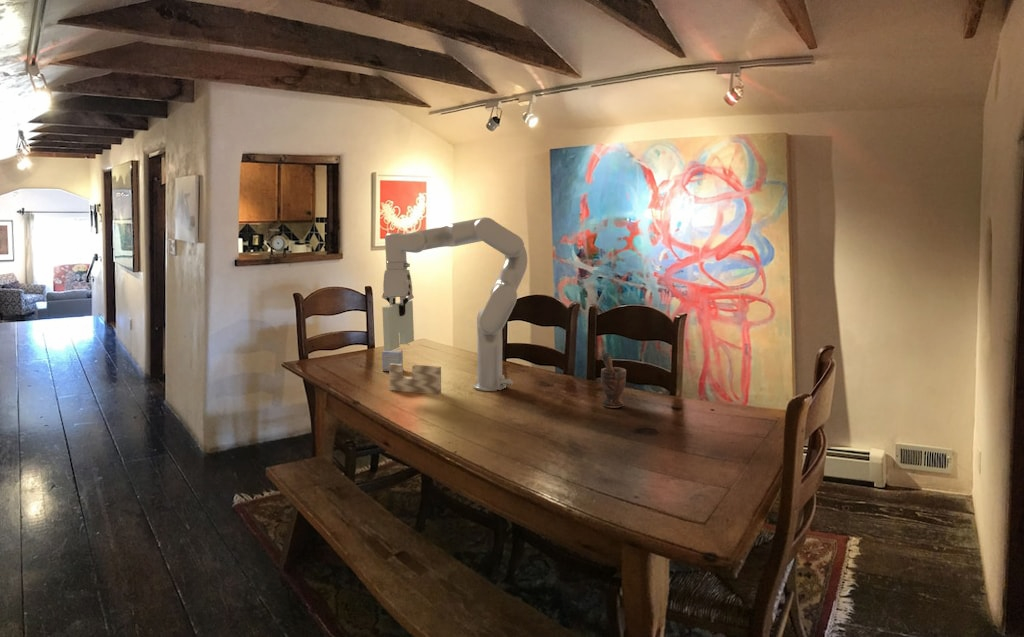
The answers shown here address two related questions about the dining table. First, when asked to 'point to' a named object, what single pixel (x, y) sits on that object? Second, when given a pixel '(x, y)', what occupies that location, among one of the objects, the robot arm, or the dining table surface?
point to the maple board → (415, 379)
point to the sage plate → (397, 325)
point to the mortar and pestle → (612, 382)
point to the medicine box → (391, 358)
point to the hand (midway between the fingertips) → (398, 315)
